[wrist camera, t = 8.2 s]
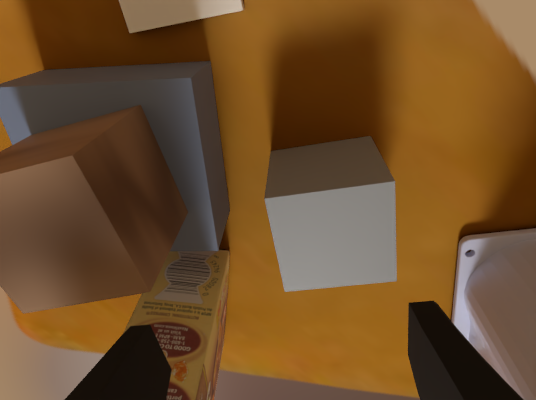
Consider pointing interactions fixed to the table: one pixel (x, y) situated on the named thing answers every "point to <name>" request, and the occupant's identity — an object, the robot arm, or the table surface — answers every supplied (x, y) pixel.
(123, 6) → the tile
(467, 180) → the table surface
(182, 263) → the candy box
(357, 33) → the table surface
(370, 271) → the grey cube
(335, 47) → the table surface
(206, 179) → the base block
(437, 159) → the table surface
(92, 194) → the walnut cube
